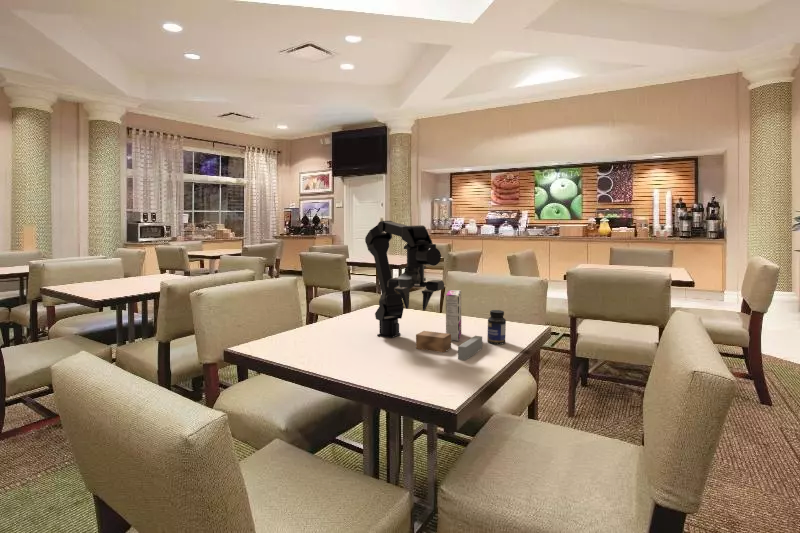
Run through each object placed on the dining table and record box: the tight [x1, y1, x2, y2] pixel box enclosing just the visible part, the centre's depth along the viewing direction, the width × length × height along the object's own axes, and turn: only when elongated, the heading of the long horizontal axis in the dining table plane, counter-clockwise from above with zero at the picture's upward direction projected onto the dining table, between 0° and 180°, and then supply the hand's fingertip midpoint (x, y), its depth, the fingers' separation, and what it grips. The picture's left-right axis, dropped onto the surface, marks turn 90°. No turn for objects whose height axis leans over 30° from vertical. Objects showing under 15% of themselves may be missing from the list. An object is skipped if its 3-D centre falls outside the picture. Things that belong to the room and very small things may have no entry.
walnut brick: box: [415, 330, 452, 354], centre depth 157 cm, size 10×6×5 cm, turn 61°
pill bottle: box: [487, 309, 507, 345], centre depth 164 cm, size 6×6×11 cm
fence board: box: [457, 335, 483, 361], centre depth 151 cm, size 2×15×4 cm, turn 151°
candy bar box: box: [445, 289, 463, 342], centre depth 171 cm, size 11×5×16 cm, turn 168°
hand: (415, 309), depth 159 cm, fingers open, 6 cm apart
